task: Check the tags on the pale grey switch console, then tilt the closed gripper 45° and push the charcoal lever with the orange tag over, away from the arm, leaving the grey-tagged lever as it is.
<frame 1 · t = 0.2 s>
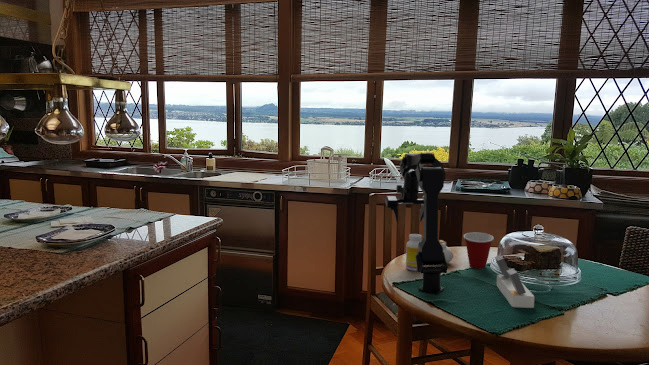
hand: (408, 221, 177), 15 cm above the table, tool pointing down, fingers open, 9 cm apart
cat figurine: (434, 261, 176), on the table
supplement bottle: (415, 269, 167), on the table
switch console: (514, 296, 139), on the table
lever orange tag: (516, 281, 131), point 7 cm above the table, hinge at -25.0°
lever grey tag: (503, 266, 145), point 7 cm above the table, hinge at -25.0°
plastic cup: (477, 267, 169), on the table
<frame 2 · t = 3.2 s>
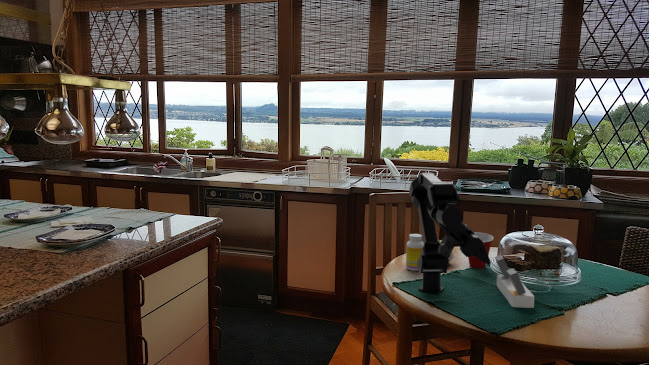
hand: (485, 259, 132), 14 cm above the table, tool tilted 45°, fingers open, 8 cm apart
nothing on the table moved.
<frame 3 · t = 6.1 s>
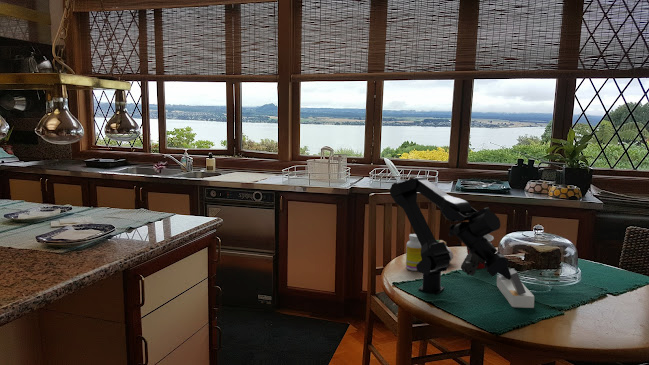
hand: (510, 278, 131), 8 cm above the table, tool tilted 45°, fingers closed, pressing on lever orange tag
lever orange tag: (516, 281, 131), point 7 cm above the table, hinge at -25.0°, touching gripper
everything else where it was.
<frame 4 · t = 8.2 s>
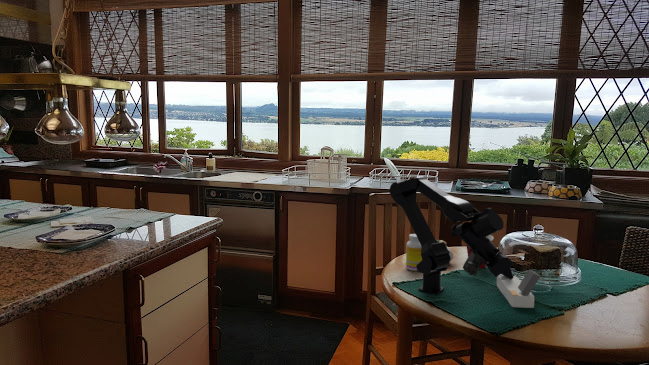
hand: (511, 278, 131), 8 cm above the table, tool tilted 45°, fingers closed
lever orange tag: (528, 282, 131), point 7 cm above the table, hinge at 28.2°
everything else where it was.
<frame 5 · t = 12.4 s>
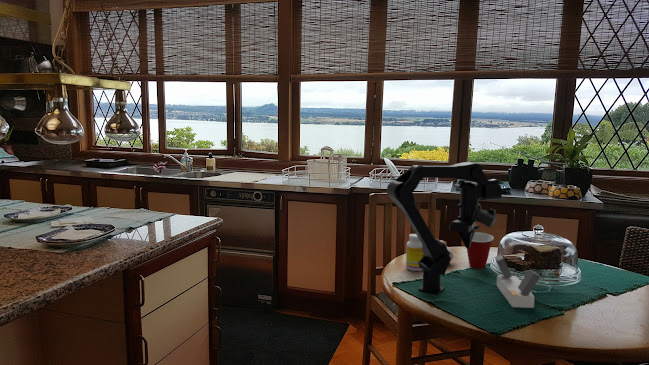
hand: (467, 248, 146), 13 cm above the table, tool pointing down, fingers closed
nothing on the table moved.
at the end: lever orange tag at +28° (first picture: -25°); lever grey tag at -25° (first picture: -25°) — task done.
